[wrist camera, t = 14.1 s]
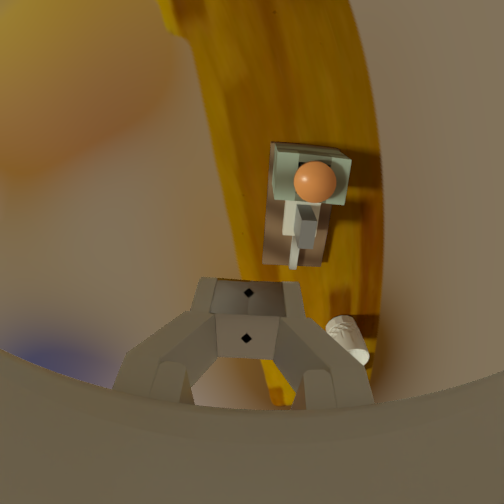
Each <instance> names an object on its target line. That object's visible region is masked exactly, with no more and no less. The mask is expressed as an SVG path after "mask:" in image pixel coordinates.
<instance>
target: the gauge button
mask: <svg viewBox="0 0 504 504" xmlns="http://www.w3.org/2000/svg"><path fill="white" fill-rule="evenodd" d="M294 187H295V190H296V192H297V194H298V195H299V196H300V197H301V198H302V199H303V200H305V201H307V202H310V203H319V202H323V201H325V200H327V199H328V198H329V197H330V196H331V195H332V194H333V193H334V191H335V188H336V176H335V174H334V172H333V170H332V169H331V168H330V167H329V166H328V165H327V164H325V163H323V162H321V161H309V162H299V165H298V169H297V171H296V173H295V175H294Z"/></svg>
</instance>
